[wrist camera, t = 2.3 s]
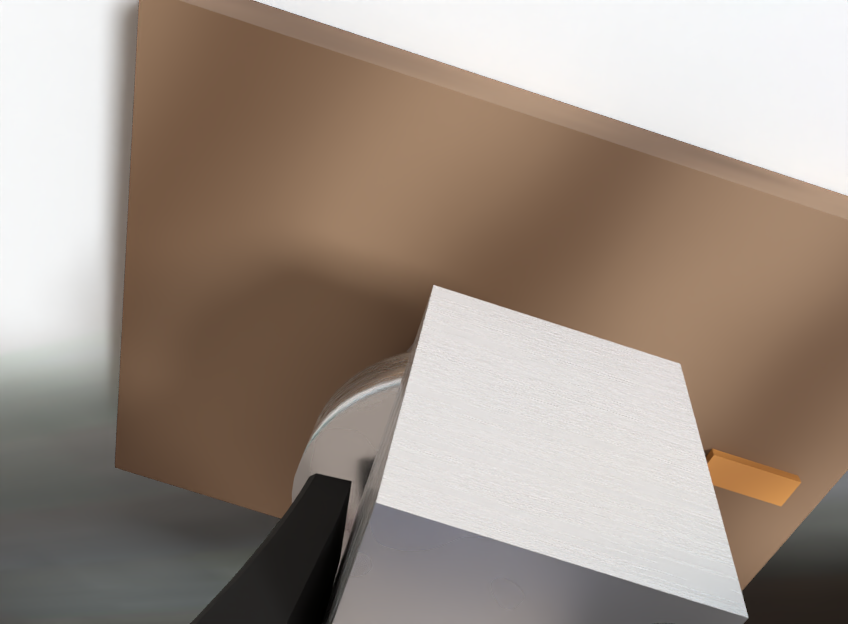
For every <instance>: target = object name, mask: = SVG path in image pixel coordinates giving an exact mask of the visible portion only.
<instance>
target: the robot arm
mask: <svg viewBox="0 0 848 624" xmlns="http://www.w3.org/2000/svg"><path fill="white" fill-rule="evenodd" d="M351 483H352V481H349V480H345V479H340V478H336V477H331V476H327V475H322V474H318V473H316V474H314V475H311V476H309V478H308V479H307V481H306V483H305V484H304V486H303V488H302V489H301V491H300V492H299V494H298V496H297V497H296V499H295V500H294V502H293V503H292V504H291V506H290V507H289V509H288V510H287V511H286V513H285V514H284V516H283V517H282V518H281V520H280V521H279V522H278V524H277V525H276V526H275V528H274V529H273V530H272V531H271V533H270V534H269V535H268V537H267V538H266V539H265V540H264V542H263V543H262V544H261V545H260V546H259V548H258V549H257V550H256V551H255V552H254V554H253V555H252V556H251V557H250V558H249V560H248V561H247V562H246V563H245V564H244V566H243V567H242V568H241V569H240V570H239V572H238V573H237V574H236V575H235V576H234V577H233V578H232V580H231V581H230V582H229V583H228V584H227V585H226V586H225V587H224V588H223V589H222V590H221V591H220V593H219V594H218V595H217V596H216V597H215V598H214V599H213V600H212V601H211V602H210V603H209V604H208V605H207V607H206V608H205V609H204V610H203V611H202V612H201V613H200V614H199V615H198V616H197V617H196V618H195V619H194V620H193V621H192V622H191V623H190V624H322V622H323V619H324V616H325V612H326V609H327V606H328V602H329V599H330V595H331V592H332V588H333V585H334V581H335V577H336V574H337V570H338V566H339V562H340V557H341V551H342V544H343V537H344V530H345V524H346V517H347V510H348V504H349V497H350V490H351Z"/></svg>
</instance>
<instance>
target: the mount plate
mask: <svg viewBox="0 0 848 624" xmlns="http://www.w3.org/2000/svg"><path fill="white" fill-rule="evenodd" d="M433 285H435V286H439V287H442V288H445V289H448V290H451V291H454V292H457V293H460V294H464V295H467V296H470V297H473V298H476V299H479V300H482V301H486V302H489V303H492V304H495V305H498V306H501V307H504V308H507V309H511V310H514V311H517V312H520V313H523V314H526V315H529V316H532V317H536V318H539V319H542V320H545V321H548V322H551V323H554V324H557V325H561V326H564V327H567V328H570V329H573V330H576V331H579V332H583V333H586V334H589V335H592V336H595V337H598V338H601V339H604V340H608V341H611V342H614V343H617V344H620V345H623V346H626V347H629V348H633V349H636V350H639V351H642V352H645V353H648V354H651V355H654V356H658V357H661V358H664V359H667V360H670V361H673V362H676V363H680V364H681V368H682V372H683V376H684V379H685V383H686V387H687V391H688V394H689V398H690V402H691V405H692V409H693V413H694V417H695V420H696V424H697V428H698V432H699V435H700V439H701V443H702V446H703V450H704V454H705V458H706V461H707V465H708V469H709V472H710V476H711V480H712V484H713V487H714V491H715V495H716V499H717V502H718V506H719V510H720V513H721V517H722V521H723V525H724V528H725V532H726V536H727V540H728V543H729V547H730V551H731V554H732V558H733V562H734V566H735V569H736V573H737V577H738V580H739V584H740V588H741V591H742V590H743V589H744V588H745V587H746V586H747V584H748V583H749V582H750V581H751V580H752V579H753V578H754V576H755V575H756V574H757V573H758V572H759V571H760V570H761V568H762V567H763V566H764V565H765V564H766V563H767V562H768V560H769V559H770V558H771V557H772V556H773V555H774V554H775V552H776V551H777V550H778V549H779V548H780V547H781V546H782V544H783V543H784V542H785V541H786V540H787V539H788V538H789V536H790V535H791V534H792V533H793V532H794V531H795V530H796V528H797V527H798V526H799V525H800V524H801V523H802V522H803V520H804V519H805V518H806V517H807V516H808V515H809V514H810V512H811V511H812V510H813V509H814V508H815V507H816V506H817V504H818V503H819V502H820V501H821V500H822V499H823V498H824V496H825V495H826V494H827V493H828V492H829V491H830V490H831V488H832V487H833V486H834V485H835V484H836V483H837V482H838V480H839V479H840V478H841V477H842V476H843V475H844V474H845V472H846V471H847V470H848V196H846V195H843V194H840V193H837V192H834V191H831V190H827V189H824V188H821V187H818V186H815V185H812V184H809V183H806V182H803V181H800V180H797V179H794V178H791V177H788V176H785V175H782V174H779V173H776V172H773V171H770V170H767V169H764V168H761V167H758V166H755V165H752V164H748V163H745V162H742V161H739V160H736V159H733V158H730V157H727V156H724V155H721V154H718V153H715V152H712V151H709V150H706V149H703V148H700V147H697V146H694V145H691V144H688V143H685V142H682V141H679V140H676V139H673V138H670V137H666V136H663V135H660V134H657V133H654V132H651V131H648V130H645V129H642V128H639V127H636V126H633V125H630V124H627V123H624V122H621V121H618V120H615V119H612V118H609V117H606V116H603V115H600V114H597V113H594V112H591V111H587V110H584V109H581V108H578V107H575V106H572V105H569V104H566V103H563V102H560V101H557V100H554V99H551V98H548V97H545V96H542V95H539V94H536V93H533V92H530V91H527V90H524V89H521V88H518V87H515V86H512V85H509V84H505V83H502V82H499V81H496V80H493V79H490V78H487V77H484V76H481V75H478V74H475V73H472V72H469V71H466V70H463V69H460V68H457V67H454V66H451V65H448V64H445V63H442V62H439V61H436V60H433V59H430V58H426V57H423V56H420V55H417V54H414V53H411V52H408V51H405V50H402V49H399V48H396V47H393V46H390V45H387V44H384V43H381V42H378V41H375V40H372V39H369V38H366V37H363V36H360V35H357V34H354V33H351V32H347V31H344V30H341V29H338V28H335V27H332V26H329V25H326V24H323V23H320V22H317V21H314V20H311V19H308V18H305V17H302V16H299V15H296V14H293V13H290V12H287V11H284V10H281V9H278V8H275V7H272V6H269V5H265V4H262V3H259V2H256V1H253V0H139V9H138V29H137V48H136V67H135V86H134V106H133V125H132V144H131V163H130V183H129V202H128V221H127V240H126V260H125V279H124V298H123V317H122V337H121V356H120V375H119V394H118V414H117V433H116V452H115V468H118V469H121V470H125V471H128V472H131V473H134V474H138V475H141V476H144V477H147V478H151V479H154V480H157V481H160V482H164V483H167V484H170V485H173V486H177V487H180V488H183V489H186V490H190V491H193V492H196V493H199V494H203V495H206V496H209V497H212V498H216V499H219V500H222V501H225V502H229V503H232V504H235V505H238V506H242V507H245V508H248V509H251V510H255V511H258V512H261V513H264V514H268V515H271V516H274V517H277V518H282V517H283V516H284V514H285V513H286V511H287V510H288V509H289V507H290V506H291V504H292V488H293V482H294V477H295V474H296V471H297V469H298V466H299V463H300V461H301V458H302V456H303V453H304V451H305V448H306V446H307V444H308V441H309V439H310V436H311V434H312V431H313V429H314V426H315V424H316V422H317V419H318V417H319V415H320V413H321V411H322V410H323V408H324V406H325V405H326V403H327V402H328V400H329V399H330V398H331V397H332V396H333V394H334V393H335V392H336V391H337V390H338V389H339V388H340V387H341V386H342V385H343V384H344V383H346V382H347V381H348V380H349V379H350V378H351V377H353V376H354V375H356V374H358V373H359V372H361V371H362V370H364V369H365V368H367V367H369V366H371V365H373V364H375V363H378V362H380V361H382V360H384V359H386V358H390V357H393V356H396V355H399V354H402V353H406V352H410V351H411V350H412V347H413V344H414V341H415V338H416V335H417V332H418V329H419V327H420V324H421V321H422V318H423V315H424V312H425V309H426V306H427V303H428V300H429V297H430V294H431V291H432V288H433Z"/></svg>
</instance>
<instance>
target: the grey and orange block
mask: <svg viewBox="0 0 848 624" xmlns="http://www.w3.org/2000/svg"><path fill="white" fill-rule="evenodd" d="M316 473H318V474H322V475H327V476H331V477H336V478H340V479H345V480H349V481H352V483H351V490H350V497H349V504H348V510H347V517H346V524H345V530H344V537H343V544H342V551H341V557H340V562H339V566H338V570H337V574H336V577H335V581H334V585H333V588H332V592H331V595H330V599H329V602H328V606H327V609H326V612H325V616H324V619H323V622H322V624H744V622H745V621H746V620H747V619H748V614H747V610H746V607H745V603H744V599H743V595H742V592H741V588H740V584H739V580H738V577H737V573H736V569H735V566H734V562H733V558H732V554H731V551H730V547H729V543H728V540H727V536H726V532H725V528H724V525H723V521H722V517H721V513H720V510H719V506H718V502H717V499H716V495H715V491H714V487H713V484H712V480H711V476H710V472H709V469H708V465H707V461H706V458H705V454H704V450H703V446H702V443H701V439H700V435H699V432H698V428H697V424H696V420H695V417H694V413H693V409H692V405H691V402H690V398H689V394H688V391H687V387H686V383H685V379H684V376H683V372H682V368H681V364H680V363H676V362H673V361H670V360H667V359H664V358H661V357H658V356H654V355H651V354H648V353H645V352H642V351H639V350H636V349H633V348H629V347H626V346H623V345H620V344H617V343H614V342H611V341H608V340H604V339H601V338H598V337H595V336H592V335H589V334H586V333H583V332H579V331H576V330H573V329H570V328H567V327H564V326H561V325H557V324H554V323H551V322H548V321H545V320H542V319H539V318H536V317H532V316H529V315H526V314H523V313H520V312H517V311H514V310H511V309H507V308H504V307H501V306H498V305H495V304H492V303H489V302H486V301H482V300H479V299H476V298H473V297H470V296H467V295H464V294H460V293H457V292H454V291H451V290H448V289H445V288H442V287H439V286H435V285H433V288H432V291H431V294H430V297H429V300H428V303H427V306H426V309H425V312H424V315H423V318H422V321H421V324H420V327H419V329H418V332H417V335H416V338H415V341H414V344H413V347H412V350H411V351H410V352H406V353H402V354H399V355H396V356H393V357H390V358H386V359H384V360H382V361H380V362H378V363H375V364H373V365H371V366H369V367H367V368H365V369H364V370H362V371H361V372H359V373H358V374H356V375H354V376H353V377H351V378H350V379H349V380H348V381H347V382H346V383H344V384H343V385H342V386H341V387H340V388H339V389H338V390H337V391H336V392H335V393H334V394H333V396H332V397H331V398H330V399H329V400H328V402H327V403H326V405H325V406H324V408H323V410H322V411H321V413H320V415H319V417H318V419H317V422H316V424H315V426H314V429H313V431H312V434H311V436H310V439H309V441H308V444H307V446H306V448H305V451H304V453H303V456H302V458H301V461H300V463H299V466H298V469H297V471H296V474H295V477H294V482H293V488H292V503H293V502H294V500H295V499H296V497H297V496H298V494H299V492H300V491H301V489H302V488H303V486H304V484H305V483H306V481H307V479H308V478H309V476H311V475H314V474H316Z"/></svg>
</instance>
